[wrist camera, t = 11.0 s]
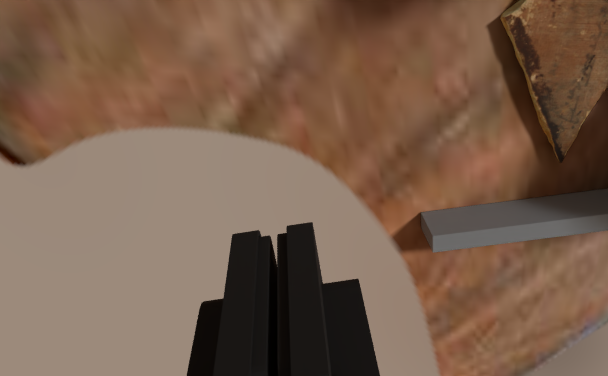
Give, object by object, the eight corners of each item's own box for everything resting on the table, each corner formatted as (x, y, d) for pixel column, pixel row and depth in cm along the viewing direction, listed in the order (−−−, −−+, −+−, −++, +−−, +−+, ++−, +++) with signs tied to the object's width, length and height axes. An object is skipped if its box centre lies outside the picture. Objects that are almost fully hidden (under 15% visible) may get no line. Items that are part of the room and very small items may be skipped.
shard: (550, 154, 33) (563, 165, 32) (444, 120, 32) (453, 130, 30) (649, -16, 29) (671, -13, 27) (532, -65, 28) (548, -64, 26)
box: (413, -76, 27) (428, -77, 24) (690, -114, 26) (736, -119, 24) (421, 227, 35) (432, 252, 32) (631, 200, 35) (661, 223, 32)
